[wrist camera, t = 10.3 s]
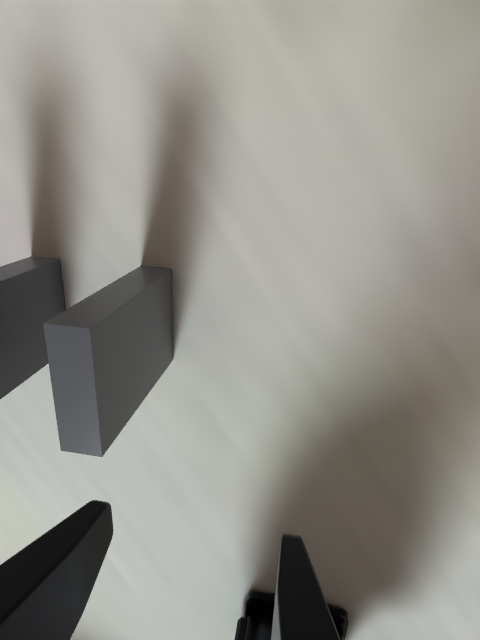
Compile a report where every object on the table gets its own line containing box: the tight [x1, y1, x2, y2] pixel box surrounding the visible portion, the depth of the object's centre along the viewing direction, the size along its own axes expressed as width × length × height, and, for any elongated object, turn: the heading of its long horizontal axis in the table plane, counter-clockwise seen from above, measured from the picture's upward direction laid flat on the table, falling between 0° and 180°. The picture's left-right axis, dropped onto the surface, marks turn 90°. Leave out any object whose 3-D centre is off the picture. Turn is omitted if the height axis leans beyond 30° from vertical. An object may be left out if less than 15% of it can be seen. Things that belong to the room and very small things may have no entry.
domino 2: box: [43, 266, 173, 457], centre depth 18 cm, size 2×5×8 cm, turn 178°
